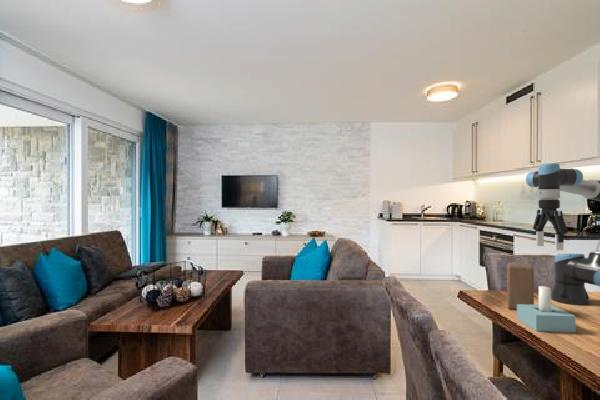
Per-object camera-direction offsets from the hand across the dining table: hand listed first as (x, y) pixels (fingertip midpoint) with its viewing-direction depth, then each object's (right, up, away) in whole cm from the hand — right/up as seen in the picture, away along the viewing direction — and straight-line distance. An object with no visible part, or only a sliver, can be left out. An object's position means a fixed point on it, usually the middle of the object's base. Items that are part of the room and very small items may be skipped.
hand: (549, 248), depth 153 cm
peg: (-11, -28, -13) cm, 33 cm away
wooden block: (-7, -29, +9) cm, 31 cm away
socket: (-11, -29, -13) cm, 33 cm away
